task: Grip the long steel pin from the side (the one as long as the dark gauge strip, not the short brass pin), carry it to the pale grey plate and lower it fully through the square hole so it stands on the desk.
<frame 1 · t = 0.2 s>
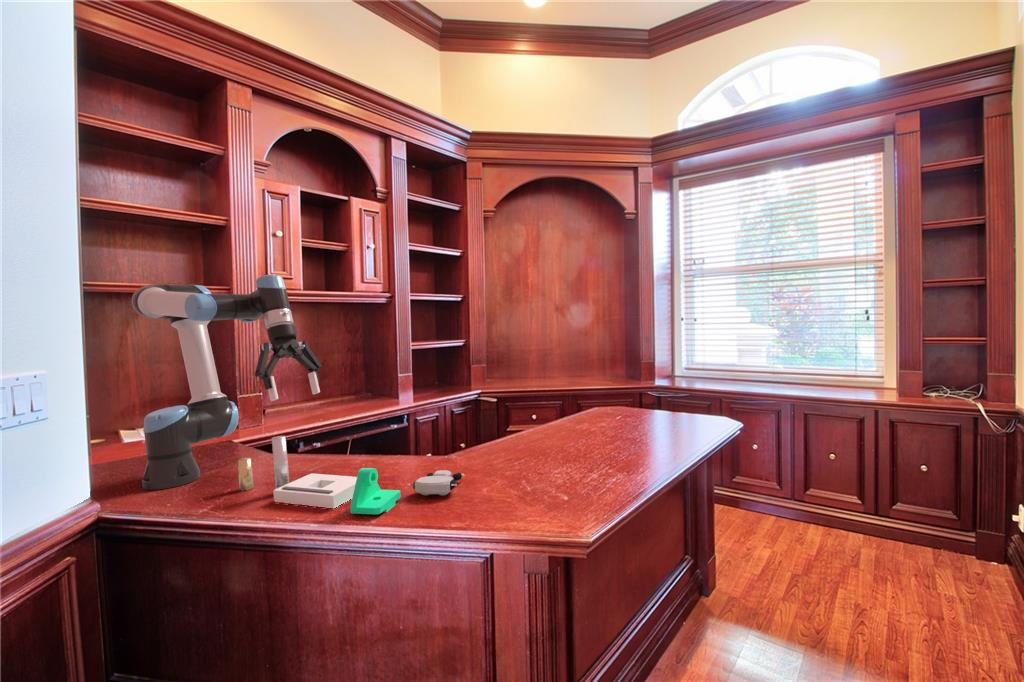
hand: (296, 396, 141), 27 cm above the table, tool tilted 15°, fingers open, 13 cm apart
long pin: (283, 492, 139), on the table
camera mount: (377, 509, 124), on the table
robot toy: (439, 491, 134), on the table
hole plate: (322, 496, 134), on the table
short pin: (246, 489, 144), on the table
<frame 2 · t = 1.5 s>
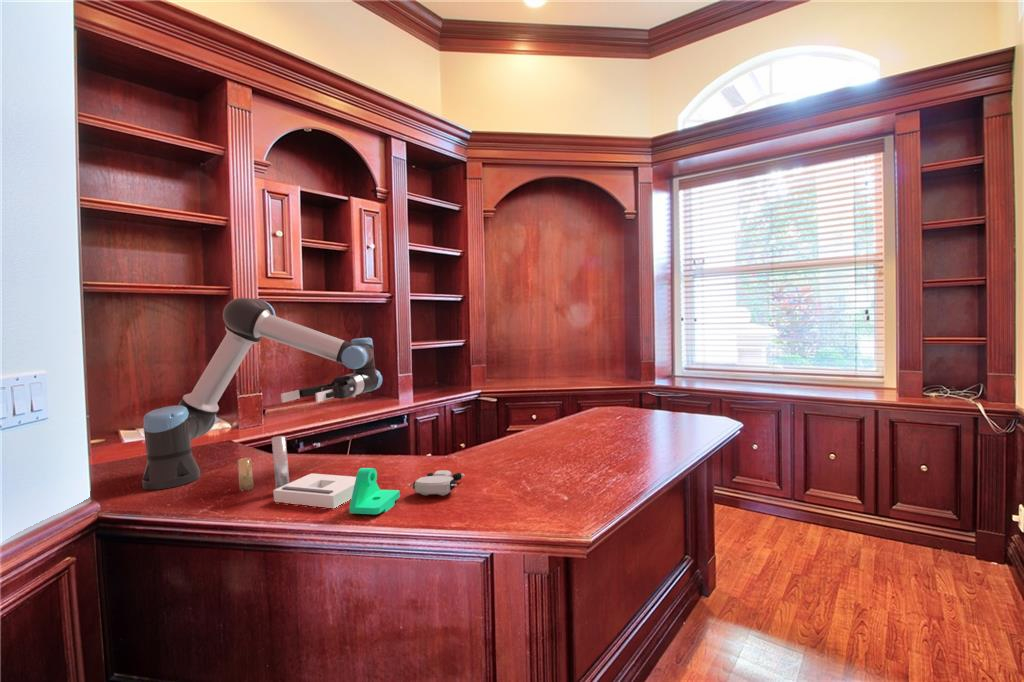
hand: (298, 397, 146), 26 cm above the table, tool horizontal, fingers open, 13 cm apart
nothing on the table moved.
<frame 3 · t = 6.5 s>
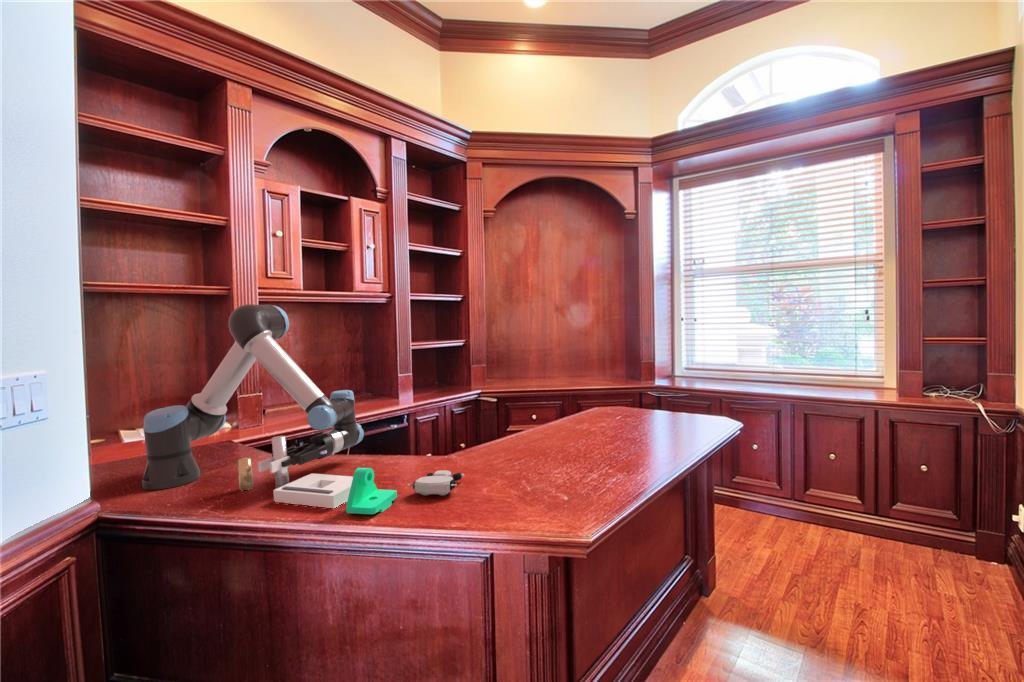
hand: (265, 467, 134), 9 cm above the table, tool horizontal, fingers closed on long pin, 3 cm apart
long pin: (283, 492, 139), on the table, touching gripper
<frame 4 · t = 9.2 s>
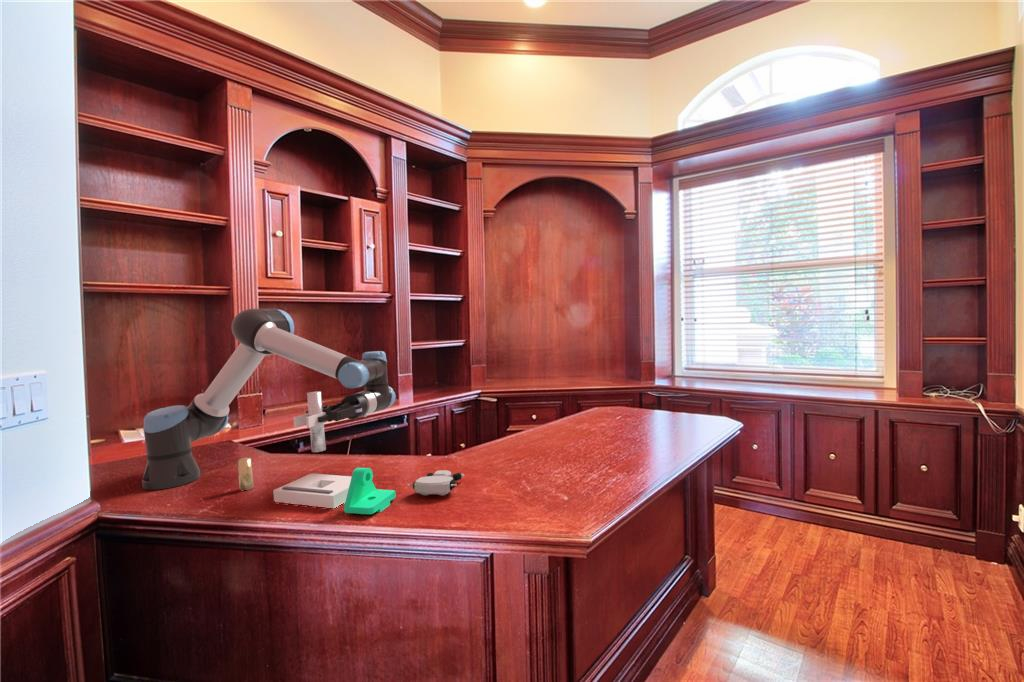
hand: (301, 422, 128), 22 cm above the table, tool horizontal, fingers closed on long pin, 3 cm apart
long pin: (318, 450, 134), point 13 cm above the table, touching gripper
when the fingers open (10 cm above the table, at t = 12.0 s): long pin drops 1 cm, resting in hole plate.
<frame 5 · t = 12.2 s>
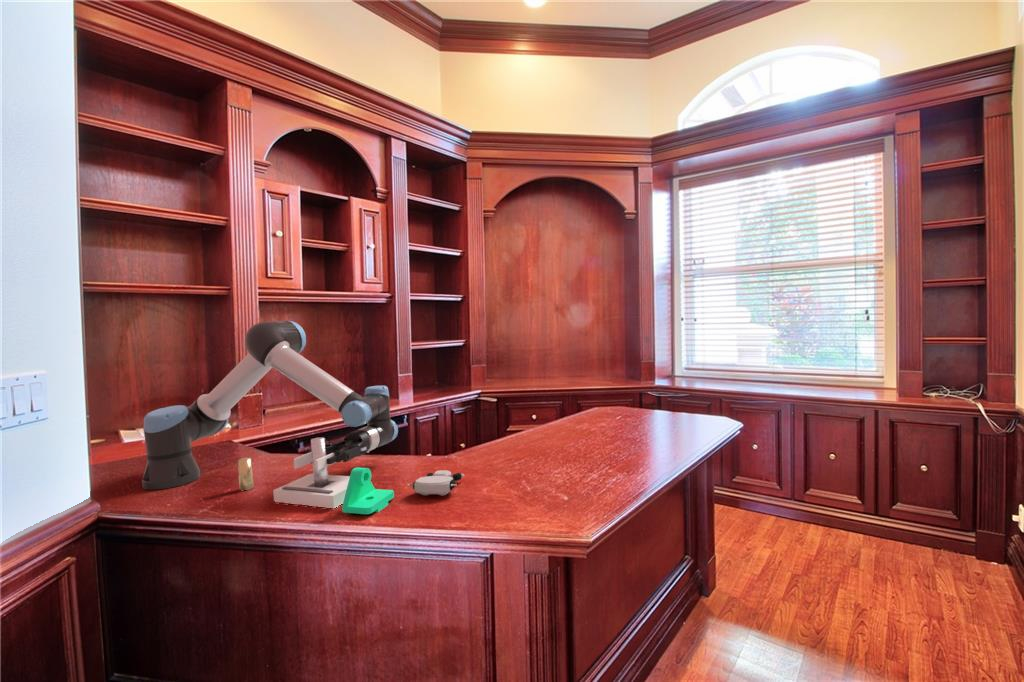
hand: (305, 464, 129), 10 cm above the table, tool horizontal, fingers open, 7 cm apart
long pin: (322, 496, 134), resting in hole plate
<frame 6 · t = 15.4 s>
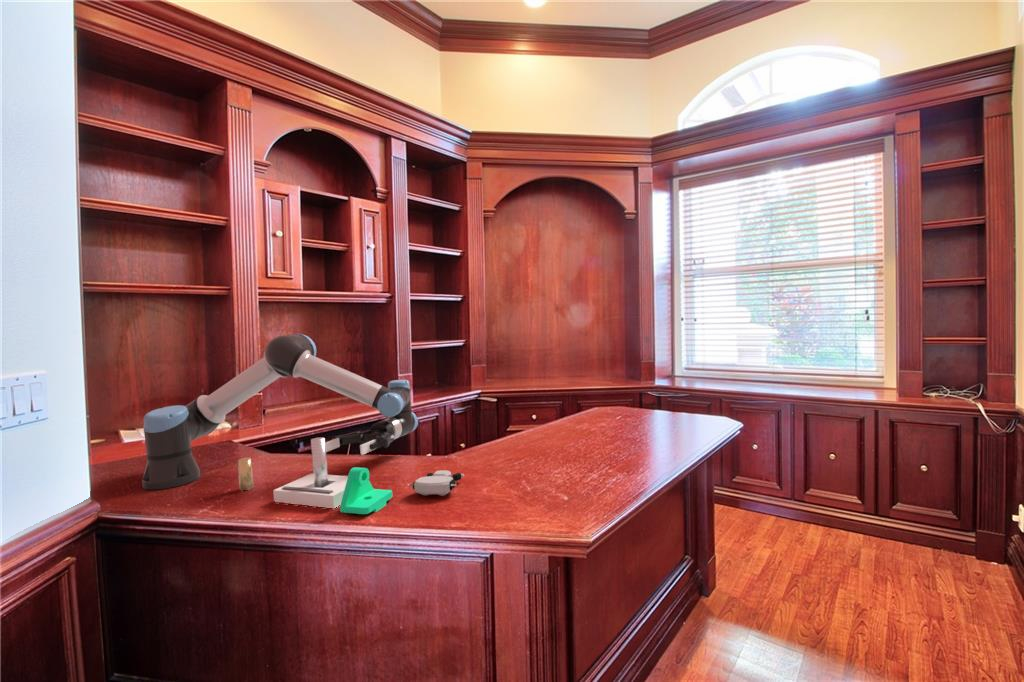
hand: (342, 449, 142), 11 cm above the table, tool horizontal, fingers open, 13 cm apart
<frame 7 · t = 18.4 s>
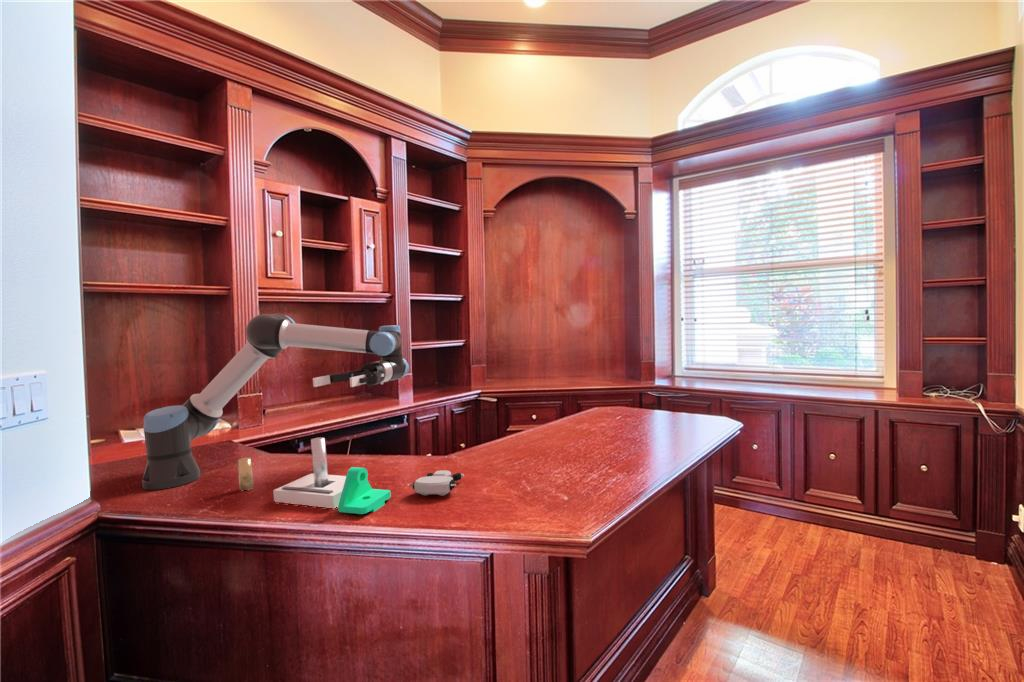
hand: (332, 382, 144), 30 cm above the table, tool horizontal, fingers open, 13 cm apart
at the end: long pin 0.1 cm off-centre on the hole plate, point 0.0 cm above the hole plate's base; long pin tilted 0°; short pin moved 0.0 cm from its start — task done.
